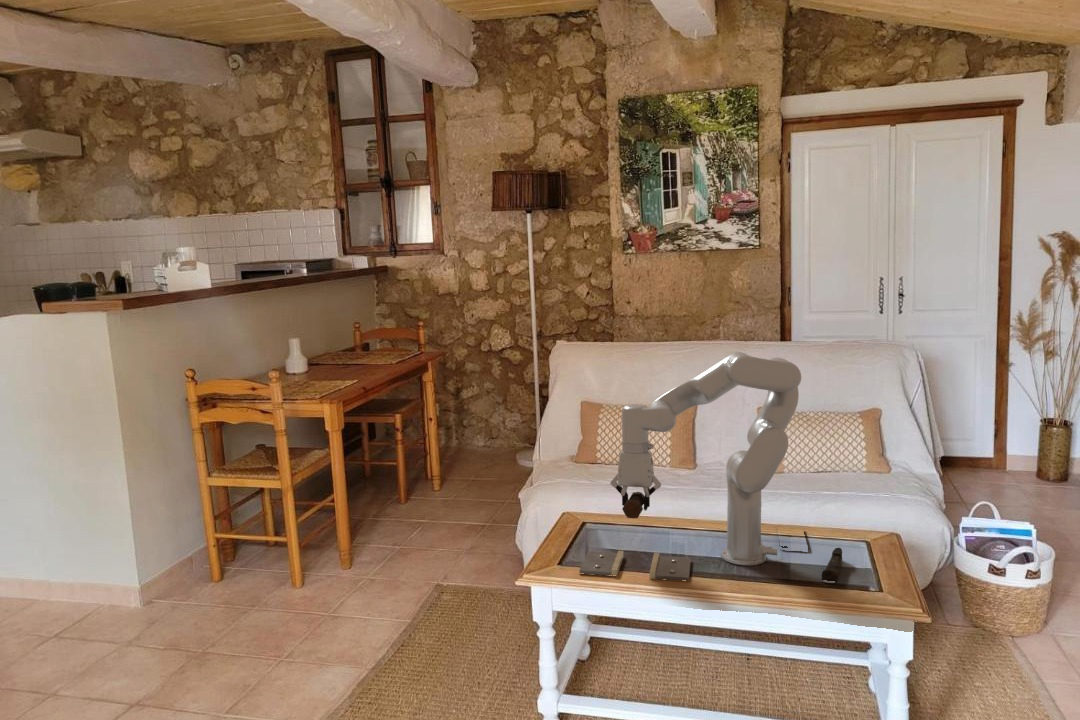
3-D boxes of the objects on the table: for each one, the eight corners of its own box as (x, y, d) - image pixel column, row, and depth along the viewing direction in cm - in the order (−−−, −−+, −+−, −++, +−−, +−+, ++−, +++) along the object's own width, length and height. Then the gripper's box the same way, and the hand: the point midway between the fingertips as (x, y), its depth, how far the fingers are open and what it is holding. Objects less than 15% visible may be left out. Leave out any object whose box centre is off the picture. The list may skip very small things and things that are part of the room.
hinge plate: (690, 561, 230) (690, 555, 230) (688, 581, 215) (688, 574, 215) (588, 555, 237) (588, 548, 236) (579, 574, 222) (579, 567, 222)
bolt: (641, 508, 239) (634, 522, 224) (627, 499, 239) (619, 513, 225) (651, 492, 237) (645, 505, 223) (636, 483, 238) (629, 496, 224)
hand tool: (836, 586, 211) (837, 569, 211) (821, 583, 213) (821, 566, 213) (849, 563, 228) (850, 547, 227) (834, 560, 230) (835, 544, 229)
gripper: (666, 445, 231) (666, 506, 233) (608, 443, 235) (609, 503, 237) (663, 451, 224) (663, 514, 226) (603, 449, 228) (604, 510, 230)
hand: (635, 508), depth 232 cm, fingers closed on bolt, 5 cm apart
